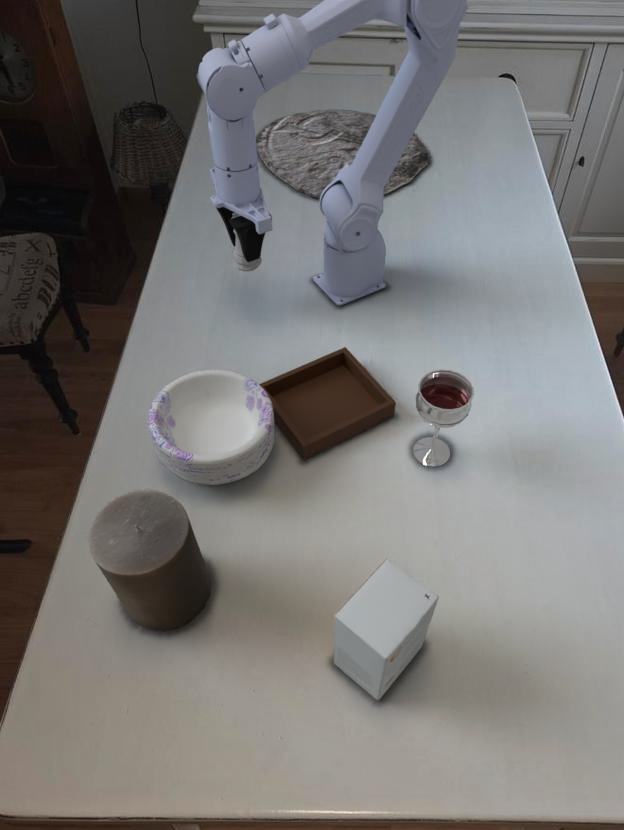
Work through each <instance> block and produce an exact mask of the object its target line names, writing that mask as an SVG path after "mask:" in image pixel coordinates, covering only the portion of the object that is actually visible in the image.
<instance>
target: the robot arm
mask: <svg viewBox="0 0 624 830" xmlns="http://www.w3.org/2000/svg"><path fill="white" fill-rule="evenodd" d="M468 9H469V5H468V1H467V0H323V1H321V2H320V3H318V4H317V5H315V6H314V7H313V8H311V9H310V10H308V11H307V12H306V13H304V14H303V15H301V16H300V17H296V16H292V15H289V14H287V13H282V14H280V15H279V16H277V17H276V16H275V14H274V13H271V14H269V15H267V16H265V17H264V18H263V22H264V25H262V26H261V27H259V28H257V29H256V30H254V31H252V32H250V33H249V34H248V35H246V36H245V37H243V38H241V39H240V40H238V41H237V40H236V39H232V40H231V41H229V42H228V43H227V46H228V47H223V48H221V47H216V48H213V49H211V50H209V51H207V52H206V53H205V54H204V56H203V57H202V61H200V62H199V65H198V71H197V73H196V79H197V82H198V84H199V85H198V86H199V87H200V88H201V91H202V92H203V93H204V96H205V98H206V99H205V103H206V115H207V119H208V122H207V128H208V135H209V141H210V148H211V154H212V155H211V156H212V162H213V168H209V174H210V181H211V183H212V184H213V186H214V188H215V193H216V194H214V195H212V196H210V203H211V204H212V205H213V207H214V208H215V209H216V210H217V213H218V214H219V216H220V218H221V219H222V222H223V224H224V226H225V228H226V232H227V234H228V237H229V239H230V242H231V244H232V246H233V247H235V246H236V236H235V233H234V230H235V231H236V233H237V235H238V238H239V241H240V244H241V248H242V252H243V255H244V258H245V260H246V261H247V262H251V261H254V260H256V259H259V258H260V255H261V256H262V248H263V243H264V239H265V236H266V233H269V232H271V231H273V217H272V214H271V213H269V211H268V209H267V206H266V202H265V201H266V200H265V197H264V193H263V190H262V188H261V182H260V170H259V169H260V167H259V159H258V150H257V147H256V139H257V137H256V125H255V122H254V117H253V111H254V109H255V108H256V105H257V102H258V100H259V98H260V97H262V96H263V95H264V94H266V93H267V92H269V91H271V90H273V89H274V88H276V87H277V86H279V85H281V84H282V83H284V82H286V81H288V80H289V79H291V78H292V77H294V76H296V75H298V74H300V73H301V72H303V71H305V69H307V68H308V67H309V64H310V61H311V59H312V55H313V52H314V51H315V50H317V49H319V48H320V47H323V46H325V45H326V44H329V43H330V42H332V41H334V40H336V39H338V38H340V37H342V36H344V35H345V34H347V33H349V32H351V31H353V30H355V29H357V28H359V27H361V26H363V25H365V24H367V23H368V22H370V21H373V20H376V19H378V20H381V21H385V22H388V23H391V24H395V25H398V26H401V27H403V29H404V33H405V36H406V40H407V44H408V51H407V54H406V56H405V58H404V59H403V62H402V64H401V66H400V68H399V69H398V72H397V74H396V75H395V78H394V80H393V82H392V84H391V85H390V88H389V89H388V91H387V94H386V95H385V97H384V100H383V101H382V103H381V106H380V107H379V109H378V111H377V113H376V114H375V115H376V117H375V119H374V121H373V123H372V125H371V127H370V129H369V131H368V133H367V135H366V137H365V139H364V141H363V143H362V145H361V147H360V149H359V151H358V153H357V155H356V157H355V159H354V161H353V163H352V165H351V166H349V167H345V168H343V169H340V170H339V172H338V174H337V176H336V178H335V179H334V180H333V181H332V182H331V183H330V184H329V185H328V186H327V187H326V188H325V189H324V190H323V192H322V194H321V196H320V199H319V200H318V204H319V205H318V206H319V209H320V212H321V214H322V215H323V216H324V217H325V219H326V223H325V227H324V230H323V273H320V274H318V275H315V276H313V278H312V280H313V282H314V283H315V284H316V285H317V286H318V287H319V289H320V290H322V291H323V292H324V293H325V294H326V296H328V298H329V299H330V300H331V301H332V302H333V303H334V304H335V305H336V306H338V307H341V306H343V305H346V304H348V303H350V302H354V301H356V300H357V299H360V298H361V299H362V298H364V297H365V296H368V295H370V294H373V293H375V292H378V291H380V290H382V289H385V288H386V287H387V284H386V283H385V282H384V275H385V265H386V254H387V249H386V243H385V239H384V236H383V234H382V233H381V231H380V230H379V221H380V219H381V217H382V215H383V213H384V208H385V207H384V195H383V190H384V186H385V184H386V182H387V181H388V179H389V177H390V175H391V173H392V172H393V170H394V168H395V166H396V164H397V163H398V161H399V159H400V157H401V155H402V153H403V152H404V150H405V148H406V146H407V144H408V143H409V141H410V139H411V137H412V135H413V134H414V133H415V132H416V130H417V128H418V126H419V124H420V123H421V120H422V119H423V117H424V115H425V113H426V112H427V110H428V109H429V107H430V104H431V103H432V101H433V100H434V97H435V96H436V93H437V92H438V90H439V89H440V86H441V85H442V83H443V81H444V79H445V77H446V76H447V74H448V72H449V70H450V68H451V66H452V65H453V63H454V60H455V58H456V54H457V46H458V41H459V36H460V35H459V34H460V29H461V23H462V20H463V18H465V17H464V16H465V15H466V13H467V11H468ZM414 135H415V134H414ZM233 213H237V214H239V215H241V216H238V217H235V218H232V217H233V216H232V214H233ZM231 218H232V219H231Z"/></svg>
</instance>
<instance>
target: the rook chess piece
mask: <svg viewBox="0 0 624 830" xmlns="http://www.w3.org/2000/svg"><path fill="white" fill-rule="evenodd" d="M232 216H233V217H232V218H235V217H238V216H241V215H239V214H237V213H233V214H232ZM232 218H231V219H232ZM234 233H235V236H236V246H235V247H234V246H233V247H234V248H233V250H232V253H231V263H232V265H233V267H234V268H236V269H237V270H239V271H241V272H252V271H255V270H257V269H259V267H260V266H261V264H262V262H263V259H262V254H261V255H260V258H259V259H256V260H254V261H251V262H247V261H246V260H245V258H244V255H243V252H242V248H241V244H240V241H239V238H238V235H237V233H236V231H235V230H234Z"/></svg>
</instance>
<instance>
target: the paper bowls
mask: <svg viewBox="0 0 624 830" xmlns="http://www.w3.org/2000/svg"><path fill="white" fill-rule="evenodd" d="M259 384H260V383H258V382H257V381H255V380H254V379H253V378H251V377H249V376H247V375H244V374H242V373H240V372H236V371H232V370H228V369H217V368H216V369H204V370H198V371H197V370H196V371H193V372H190V373H187V374H184V375H182V376H180V377H177V378H175V379H174V380H172V381H171V382H169V383H168V384H167V385H165V387H163V388H162V389H161V391H159V392H158V393H157V395H156V396H155V397H154V399H153V401H152V403H151V404H150V407H149V411H148V418H147V425H148V432H149V435H150V439H151V441H152V444H153V447H154V449H155V453H156V454H157V456H158V458H159V460H160V462H161V463H162V464H163V466H164V467H165V468H166V469H167V470H168V471H169V472H171V473H172V474H174V475H175V476H176V477H178V478H180V479H181V480H183V481H185V482H190V483H195V484H199V485H207V486H218V485H225V484H229V483H230V484H231V483H232V482H233V483H234V482H236V481H239V480H241V479H244V478H246V477H248V476H249V475H251V474H252V473H254V472H256V471H258V469H260V467H262V465H264V463H265V462H266V461H267V459H268V458H269V456H270V453H271V452H272V450H273V447H274V443H275V442H274V441H275V432H276V431H275V429H276V428H275V422H274V413H273V406H272V402H271V400H270V398H269V396H268V394H267V393H266V391H265V390H264V389H263V388H262V387H261V386H260V385H259Z"/></svg>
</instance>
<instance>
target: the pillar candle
mask: <svg viewBox="0 0 624 830" xmlns="http://www.w3.org/2000/svg"><path fill="white" fill-rule="evenodd" d="M85 537H86V539H85V540H86V543H88V545H87V546H88V549H89V553H90V555H91V557H92V559H93V561H94V563H95V564H96V566H97V567H98V569H99V570H100V571H101V573H102V575H103V576H104V577H105V579H106V581H107V583H108V584H109V585H110V587H111V589H112V590H113V592H114V593H115V595H116V597H117V599H118V601H119V602H120V603H121V605H122V606H123V608H124V609H125V611H126V613H127V614H128V615H129V616H130V618H131V620H133V621H134V623H136V624H137V625H139V626H141V627H143V628H145V629H148V630H151V631H156V632H167V631H173V630H176V629H177V630H178V629H180V628H182V627H185V626H186V625H188V624H190V623H191V622H193V621H194V620H195V619H196V618H197V617H198V616H200V615H201V613H202V612H203V610H205V608H206V606H207V603H208V599H209V598H210V596H211V589H212V585H211V584H212V582H211V578H210V574H209V571H208V569H207V565H206V563H205V560H204V557H203V554H202V552H201V548H200V546H199V543H198V540H197V538H196V535H195V531H194V529H193V526H192V524H191V521H190V519H189V515H188V513H187V510H186V509H185V507H184V506H183V505H182V503H181V502H180V501H178V500H177V498H175V497H174V496H171V495H170V494H168V493H166V492H163V491H159V490H154V489H151V488H144V489H135V490H132V491H128V493H125V494H122V495H120V496H116V497H115V498H114V499H113V500H112V501H108V502H107V503H106V505H105V506H104V507H102V509H101V510H100V511H98V512H97V513H96V516H95V517H94V519H93V520H92V522H91V524H90V526H89V530H88V532H86V536H85Z"/></svg>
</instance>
